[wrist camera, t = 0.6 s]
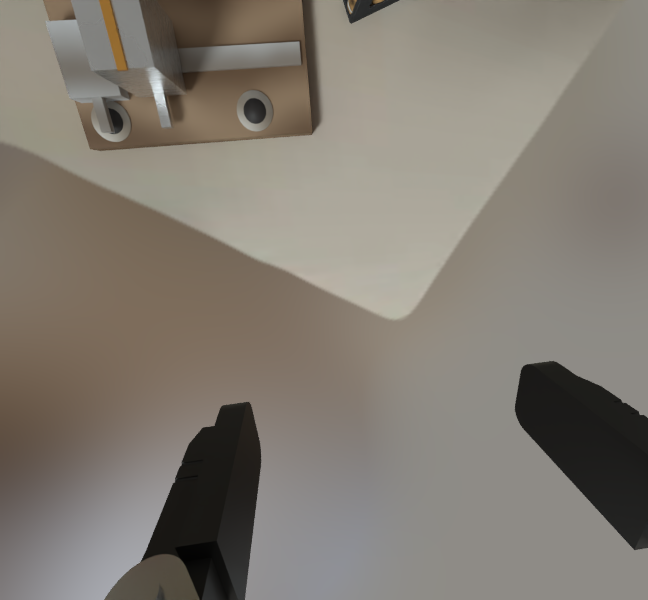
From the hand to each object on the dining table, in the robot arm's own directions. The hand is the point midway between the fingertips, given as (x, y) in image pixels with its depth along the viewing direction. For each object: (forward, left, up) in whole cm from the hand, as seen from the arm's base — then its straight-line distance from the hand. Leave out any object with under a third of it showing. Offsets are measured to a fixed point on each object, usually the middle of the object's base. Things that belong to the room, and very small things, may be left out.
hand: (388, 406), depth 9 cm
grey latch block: (-16, -12, -24) cm, 32 cm away
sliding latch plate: (-17, -10, -27) cm, 33 cm away
